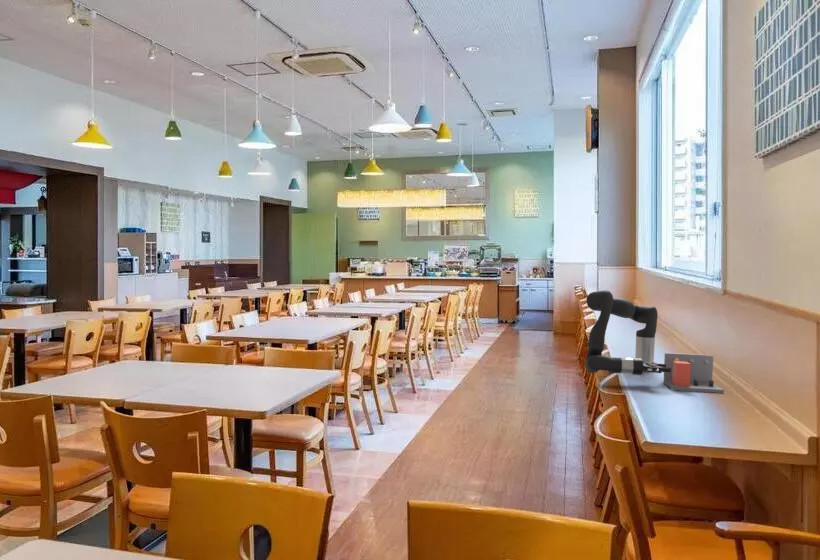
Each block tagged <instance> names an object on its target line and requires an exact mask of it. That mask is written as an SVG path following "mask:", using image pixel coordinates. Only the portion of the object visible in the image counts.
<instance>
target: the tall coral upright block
mask: <svg viewBox="0 0 820 560" xmlns="http://www.w3.org/2000/svg"><path fill="white" fill-rule="evenodd" d="M690 370H691V364H690V363H688V362H684V361H673V373H672V383H673V384H674V385H679V386H690Z"/></svg>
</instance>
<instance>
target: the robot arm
mask: <svg viewBox="0 0 820 560" xmlns="http://www.w3.org/2000/svg"><path fill="white" fill-rule="evenodd" d="M585 300H586V305H587V307H588V308H589V309H590V310H592V311H598V312H600V314H599V316H598V318H597V319H596V321H595V323H594V325H593V327H592V328H591V329H590V332H589V335H588V344H587V353H586V358H585V363H584V365H585V369H586V371H587V372H589V374H590V373H591V374H596V373H598V372H599V371H607V372H609V373H611V374H612V373H613V374H623V375H636V376H642V374H643V370H645V372H646V373H650V374H651V373H656V374H662V373H664V372H671V368H670V367H666V364H664V363H657V362H655V345H656V343H655V341H656V333H657V325H658V316H659V315H658V309H657V308H656V306H651V305H643V304H642V305H641V304H640V305H637V304H634V303H633V301H632V300H631V301H630V300H629V299H626V298H622V297H614V295H613V294H612V292H611V291H609V290H599V291H598V290H597V291H591V292H590V293H589V294H587V296H586V299H585ZM611 315H613V316H617V317H618V318H624V319H630V320H632V321H633V322H637V323H639V324H645V327H644V328H642V329H638V330H636V332H635V350H634V352H635V354H634V357H610V356H606V355H603V354H602V353H603V350H604V347H605V340H606V339H605V338H606V332H607V328H608V325H609V320H610V317H611Z"/></svg>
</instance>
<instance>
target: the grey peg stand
mask: <svg viewBox="0 0 820 560" xmlns="http://www.w3.org/2000/svg"><path fill="white" fill-rule="evenodd" d="M713 360H714V355H712V354H697V353H695V354H694V353H677V352H676V353H674V352H664V360H663V361H664V363H663V364H666V367H670V368H671V372H663V384H665V386H667V387H668V386H669V387H668V388H669V389H671V390H672V391H677V390H681V391H680V392H694V391H697V393H698V392H699V393H711V392H716V393H715V394H725V393H724V389H723V388H722V387H720V386H718V385H716V384H715V383H714V382H715V380H714V379H713V370H714V368H713V367H714V361H713ZM673 361H684V362H688V363H690V364H691V370H690V386H679V385H674V384H673V383H672V373H673Z"/></svg>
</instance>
